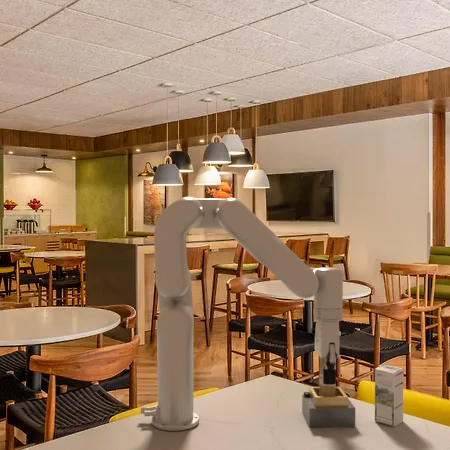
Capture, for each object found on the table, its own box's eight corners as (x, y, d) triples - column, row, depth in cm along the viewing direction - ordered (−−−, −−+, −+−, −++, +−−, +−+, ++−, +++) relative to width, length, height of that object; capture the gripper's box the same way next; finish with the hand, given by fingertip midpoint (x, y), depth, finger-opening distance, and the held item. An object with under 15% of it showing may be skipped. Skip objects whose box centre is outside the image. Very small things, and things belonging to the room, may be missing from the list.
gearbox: (309, 427, 142) (309, 399, 142) (302, 412, 153) (302, 385, 153) (355, 427, 143) (355, 398, 143) (344, 411, 154) (345, 385, 154)
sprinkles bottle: (316, 393, 150) (317, 344, 150) (333, 393, 150) (333, 344, 150) (321, 399, 145) (322, 349, 145) (338, 399, 146) (338, 348, 146)
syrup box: (403, 421, 147) (404, 367, 147) (393, 427, 143) (394, 372, 142) (384, 416, 151) (384, 363, 150) (373, 422, 146) (374, 368, 146)
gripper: (308, 308, 156) (307, 372, 156) (320, 319, 139) (319, 391, 139) (334, 308, 156) (334, 372, 156) (350, 319, 139) (349, 391, 140)
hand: (327, 380), depth 148 cm, fingers closed on sprinkles bottle, 4 cm apart
